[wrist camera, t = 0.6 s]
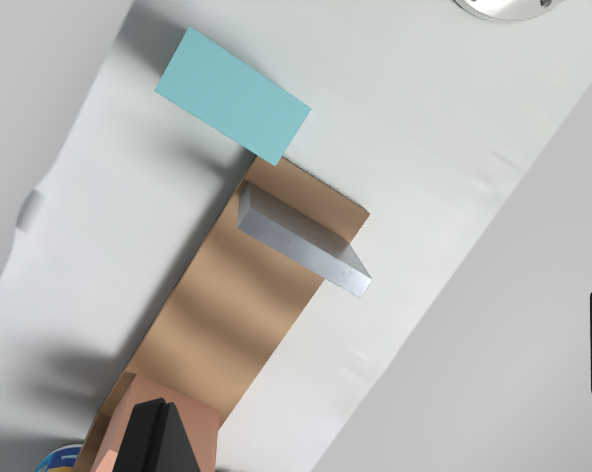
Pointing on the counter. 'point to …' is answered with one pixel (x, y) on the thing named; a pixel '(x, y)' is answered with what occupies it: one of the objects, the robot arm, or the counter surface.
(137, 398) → the salmon pink block
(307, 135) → the counter surface
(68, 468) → the beverage bottle
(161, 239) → the counter surface
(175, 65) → the teal rectangular block
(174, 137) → the counter surface
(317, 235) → the bookend
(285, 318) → the wooden book rack
